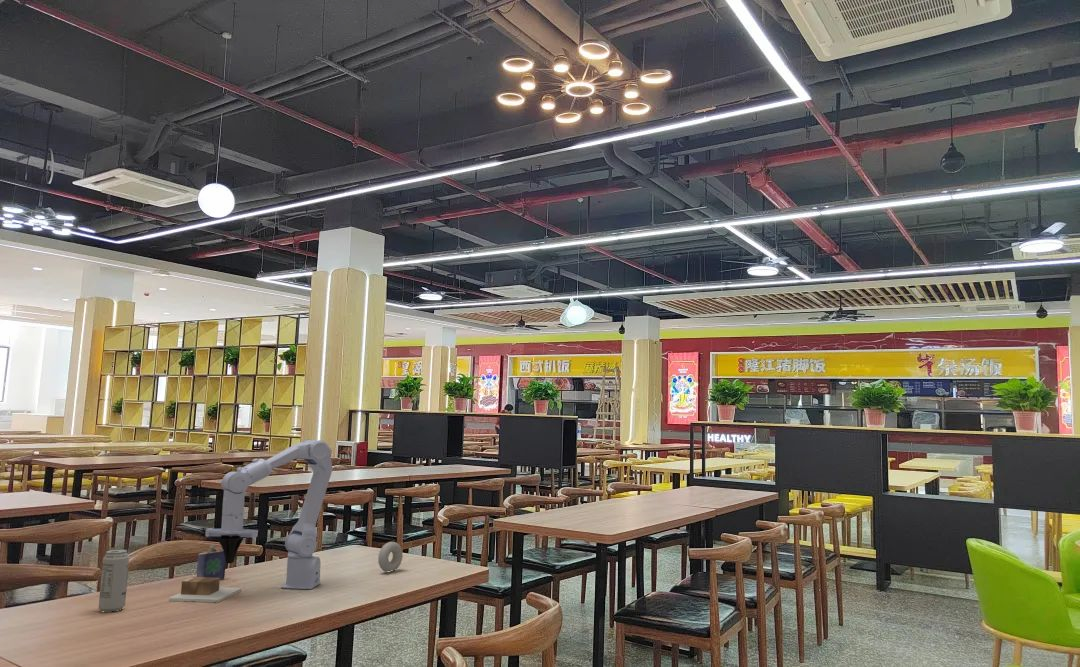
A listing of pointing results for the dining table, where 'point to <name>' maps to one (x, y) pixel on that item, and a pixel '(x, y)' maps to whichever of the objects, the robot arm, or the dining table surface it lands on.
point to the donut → (384, 555)
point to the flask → (211, 564)
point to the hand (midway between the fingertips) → (229, 562)
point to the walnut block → (200, 586)
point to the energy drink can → (114, 580)
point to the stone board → (207, 596)
